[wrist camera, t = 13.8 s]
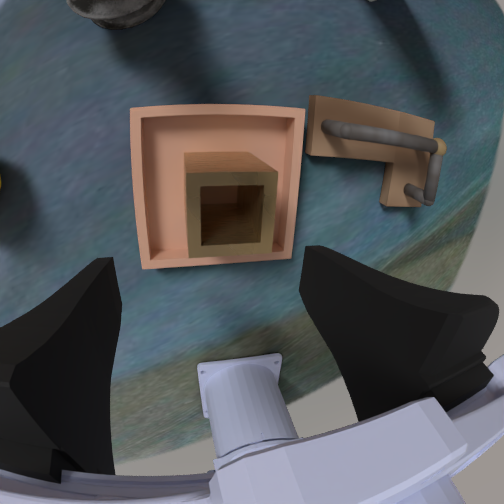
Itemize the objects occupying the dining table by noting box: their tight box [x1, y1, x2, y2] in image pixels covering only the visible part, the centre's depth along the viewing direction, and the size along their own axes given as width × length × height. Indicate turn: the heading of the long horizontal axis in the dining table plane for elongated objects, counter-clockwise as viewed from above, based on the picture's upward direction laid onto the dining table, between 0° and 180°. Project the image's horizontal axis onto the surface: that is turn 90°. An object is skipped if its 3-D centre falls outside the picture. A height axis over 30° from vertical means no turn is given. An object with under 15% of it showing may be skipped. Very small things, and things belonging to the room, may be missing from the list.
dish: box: [130, 104, 305, 269], centre depth 18 cm, size 10×10×2 cm
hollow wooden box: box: [184, 152, 278, 258], centre depth 16 cm, size 4×4×6 cm
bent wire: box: [305, 95, 447, 207], centre depth 19 cm, size 8×11×4 cm
